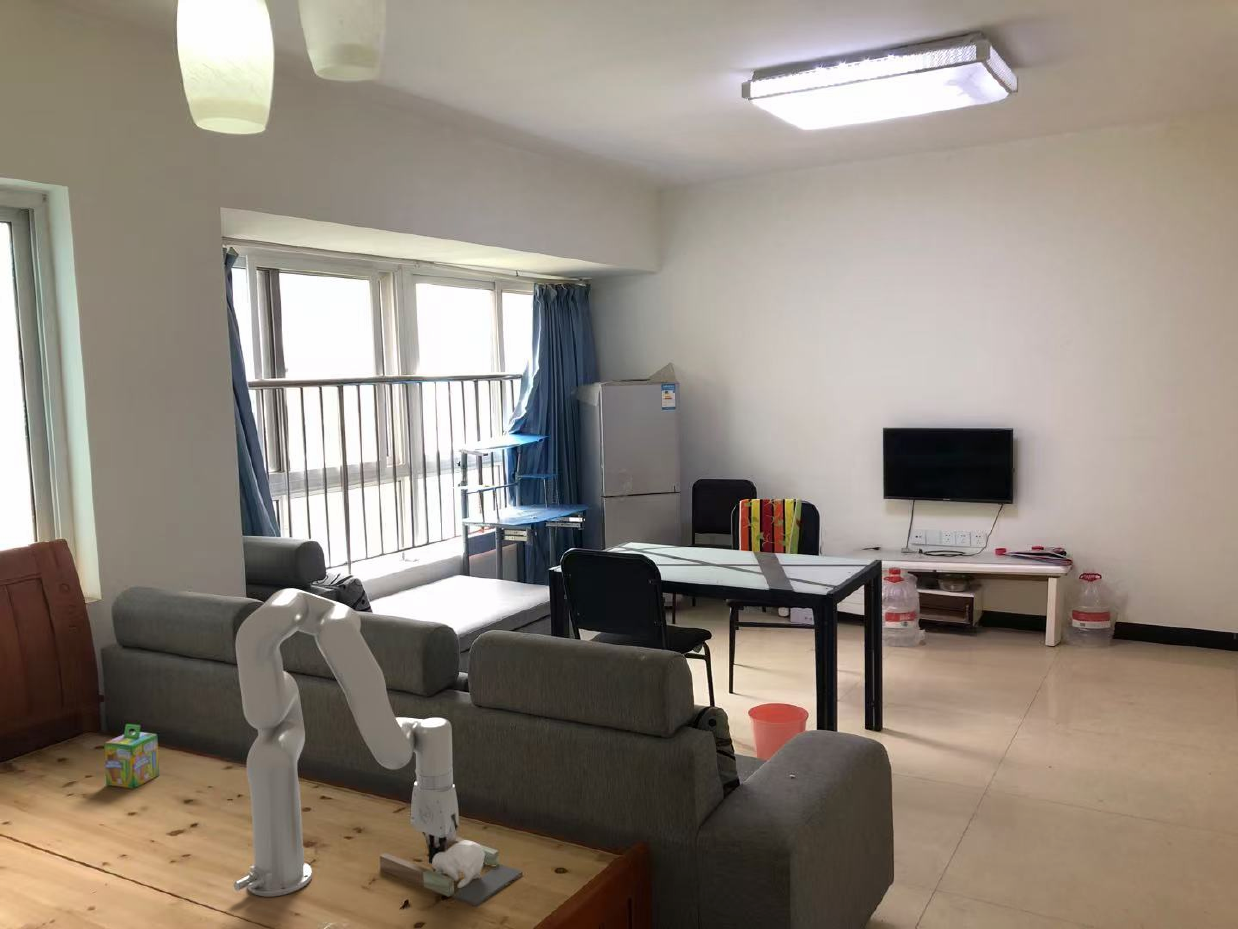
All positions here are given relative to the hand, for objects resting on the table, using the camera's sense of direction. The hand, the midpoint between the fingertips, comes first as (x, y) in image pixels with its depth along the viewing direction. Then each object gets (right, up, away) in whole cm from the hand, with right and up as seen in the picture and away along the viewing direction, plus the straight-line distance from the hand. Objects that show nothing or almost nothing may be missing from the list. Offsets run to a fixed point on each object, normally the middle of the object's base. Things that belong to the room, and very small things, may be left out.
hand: (437, 861), depth 202 cm
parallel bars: (+1, -1, 0) cm, 1 cm away
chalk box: (-89, +1, +48) cm, 101 cm away
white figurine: (+5, -2, -5) cm, 7 cm away
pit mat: (+12, -2, -8) cm, 15 cm away
